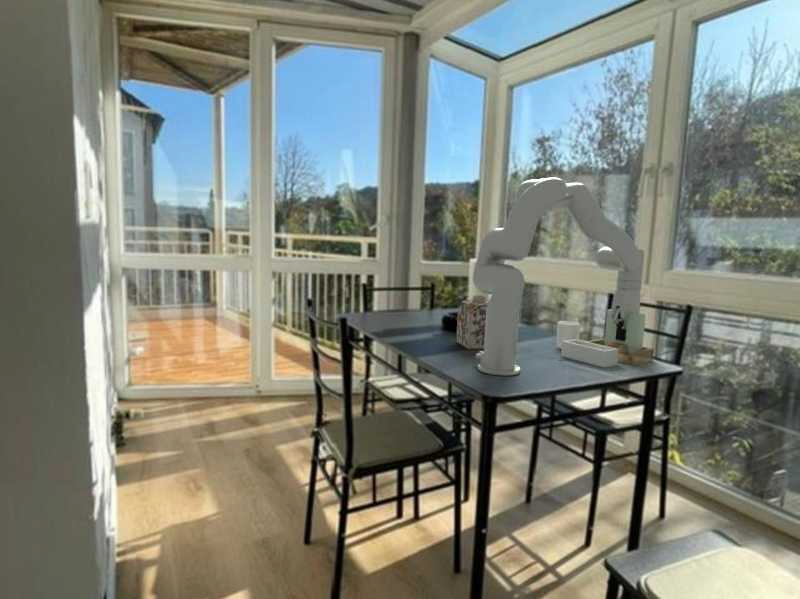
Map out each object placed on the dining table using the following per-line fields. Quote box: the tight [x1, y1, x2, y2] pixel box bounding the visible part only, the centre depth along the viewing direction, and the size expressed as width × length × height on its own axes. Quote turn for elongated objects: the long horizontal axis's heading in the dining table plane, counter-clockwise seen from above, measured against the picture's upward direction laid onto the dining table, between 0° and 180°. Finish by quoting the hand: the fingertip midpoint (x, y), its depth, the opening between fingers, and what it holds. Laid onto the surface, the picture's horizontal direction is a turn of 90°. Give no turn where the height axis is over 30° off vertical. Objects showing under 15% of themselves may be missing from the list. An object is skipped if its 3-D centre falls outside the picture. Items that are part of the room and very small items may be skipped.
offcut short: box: [608, 342, 627, 352], centre depth 178 cm, size 5×3×2 cm, turn 36°
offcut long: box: [618, 351, 628, 355], centre depth 179 cm, size 8×3×2 cm, turn 36°
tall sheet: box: [604, 308, 647, 356], centre depth 179 cm, size 12×3×15 cm, turn 36°
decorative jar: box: [456, 294, 489, 350], centre depth 191 cm, size 12×12×18 cm
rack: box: [585, 337, 655, 366], centre depth 178 cm, size 18×12×5 cm, turn 36°
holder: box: [560, 339, 619, 368], centre depth 172 cm, size 16×7×6 cm, turn 36°
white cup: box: [556, 320, 582, 350], centre depth 189 cm, size 8×8×10 cm
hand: (623, 339), depth 179 cm, fingers closed on tall sheet, 3 cm apart
